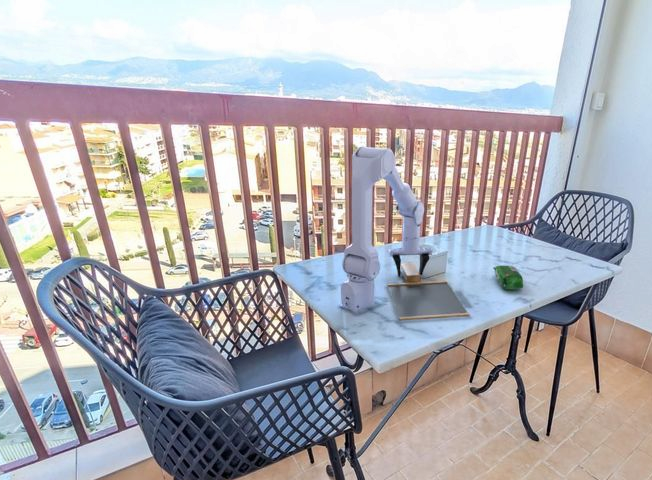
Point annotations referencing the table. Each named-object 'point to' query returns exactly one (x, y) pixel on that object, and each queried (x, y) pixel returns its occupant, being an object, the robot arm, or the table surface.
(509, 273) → the snack package
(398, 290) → the slate board
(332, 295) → the table surface
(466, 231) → the table surface
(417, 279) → the eraser
